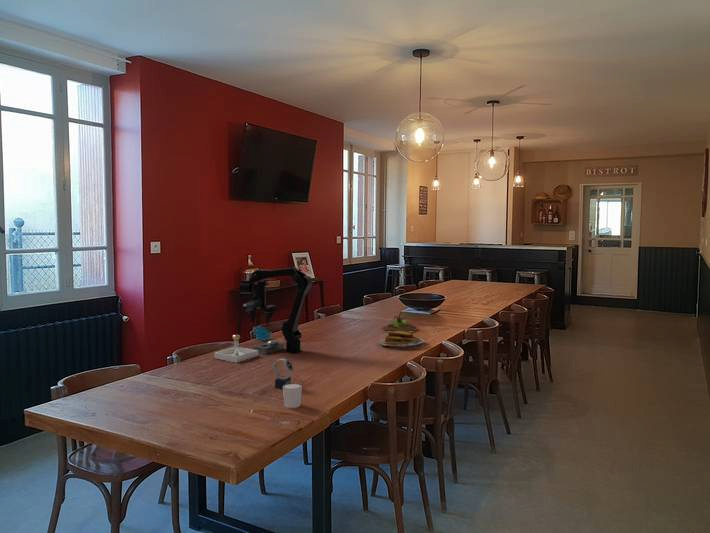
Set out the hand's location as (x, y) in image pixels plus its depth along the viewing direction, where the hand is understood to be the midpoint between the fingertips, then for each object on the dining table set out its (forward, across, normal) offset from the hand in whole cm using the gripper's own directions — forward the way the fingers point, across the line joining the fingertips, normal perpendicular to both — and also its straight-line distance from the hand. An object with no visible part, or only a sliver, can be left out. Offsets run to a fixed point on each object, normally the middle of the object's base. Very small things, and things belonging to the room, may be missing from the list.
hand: (260, 324), depth 277 cm
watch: (+13, +49, -44) cm, 68 cm away
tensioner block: (+13, +6, -1) cm, 14 cm away
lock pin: (+12, +2, -20) cm, 23 cm away
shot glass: (+13, +66, -61) cm, 91 cm away
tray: (+13, +2, -20) cm, 24 cm away
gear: (+13, -13, +17) cm, 25 cm away
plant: (+14, +40, +82) cm, 92 cm away
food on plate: (+14, +58, +46) cm, 75 cm away
